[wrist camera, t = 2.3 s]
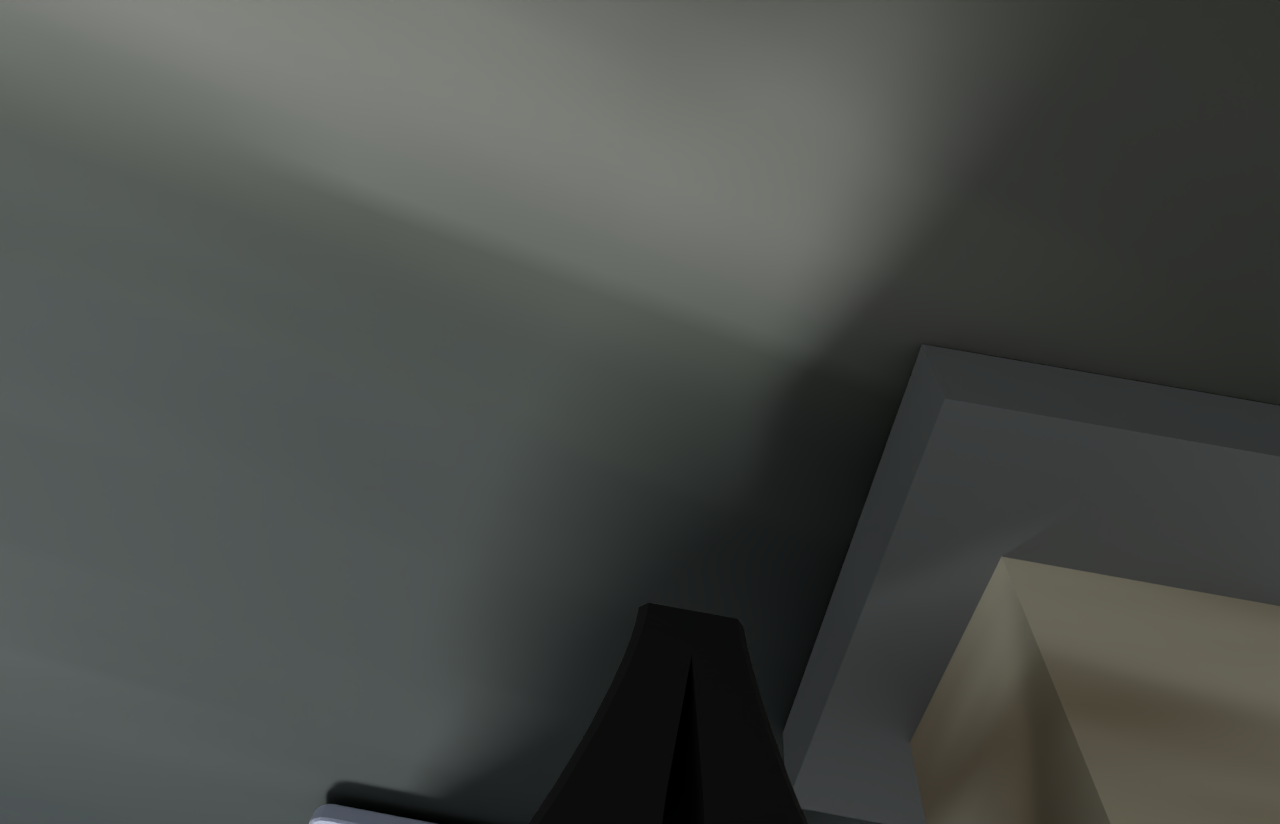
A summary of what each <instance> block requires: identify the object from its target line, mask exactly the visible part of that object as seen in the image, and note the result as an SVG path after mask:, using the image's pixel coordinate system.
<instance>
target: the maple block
mask: <svg viewBox="0 0 1280 824" xmlns="http://www.w3.org/2000/svg"><path fill="white" fill-rule="evenodd" d="M910 746H911V751H912V756H913V761H914V766H915V771H916V776H917V781H918V786H919V791H920V796H921V801H922V806H923V811H924V816H925V821H926V824H1280V606H1276V605H1270V604H1265V603H1259V602H1254V601H1248V600H1242V599H1237V598H1231V597H1226V596H1220V595H1214V594H1209V593H1203V592H1197V591H1192V590H1186V589H1181V588H1175V587H1169V586H1164V585H1158V584H1153V583H1147V582H1141V581H1136V580H1130V579H1125V578H1119V577H1113V576H1108V575H1102V574H1097V573H1091V572H1085V571H1080V570H1074V569H1068V568H1063V567H1057V566H1052V565H1046V564H1040V563H1035V562H1029V561H1024V560H1018V559H1012V558H1007V557H1001V559H1000V561H999V563H998V565H997V567H996V569H995V571H994V573H993V575H992V577H991V579H990V581H989V583H988V585H987V587H986V589H985V591H984V593H983V595H982V597H981V599H980V601H979V603H978V605H977V607H976V609H975V611H974V613H973V616H972V618H971V620H970V622H969V624H968V626H967V628H966V630H965V632H964V634H963V636H962V638H961V640H960V642H959V644H958V646H957V648H956V650H955V652H954V654H953V656H952V658H951V660H950V662H949V664H948V666H947V668H946V670H945V672H944V674H943V676H942V678H941V680H940V682H939V684H938V687H937V689H936V691H935V693H934V695H933V697H932V699H931V701H930V703H929V705H928V707H927V709H926V711H925V713H924V715H923V717H922V719H921V721H920V723H919V725H918V727H917V729H916V731H915V733H914V735H913V737H912V739H911V741H910Z"/></svg>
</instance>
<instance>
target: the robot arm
mask: <svg viewBox="0 0 1280 824" xmlns="http://www.w3.org/2000/svg"><path fill="white" fill-rule="evenodd" d="M309 824H437V823H432V822H426V821H421V820H416V819H411V818H405V817H400V816H395V815H389V814H384V813H379V812H374V811H368V810H363V809H358V808H353V807H347V806H342V805H337V804H325V805H321V806H319V807H318V808H317V809H316V810H315V812H314V814H313V816H312V818H311V820H310V822H309ZM529 824H808V823H807V821H806V818H805V816H804V814H803V811H802V809H801V807H800V804H799V802H798V799H797V797H796V794H795V792H794V789H793V787H792V784H791V782H790V779H789V777H788V774H787V771H786V769H785V766H784V763H783V760H782V758H781V755H780V752H779V749H778V747H777V744H776V741H775V738H774V736H773V733H772V730H771V727H770V724H769V721H768V718H767V715H766V712H765V709H764V706H763V703H762V699H761V696H760V693H759V689H758V686H757V683H756V679H755V676H754V672H753V668H752V665H751V661H750V657H749V652H748V648H747V644H746V639H745V634H744V628H743V626H742V625H741V623H740V622H739V621H738V620H737V619H734V618H729V617H723V616H718V615H712V614H707V613H701V612H696V611H690V610H685V609H679V608H674V607H668V606H663V605H657V604H652V603H647V604H645V605H643V606H641V607H639V611H638V615H637V620H636V624H635V627H634V630H633V634H632V637H631V640H630V642H629V645H628V648H627V650H626V653H625V655H624V658H623V660H622V662H621V664H620V667H619V669H618V671H617V673H616V676H615V678H614V680H613V682H612V684H611V686H610V688H609V690H608V692H607V694H606V696H605V698H604V700H603V702H602V704H601V706H600V707H599V709H598V711H597V713H596V715H595V717H594V719H593V721H592V723H591V725H590V727H589V728H588V730H587V732H586V734H585V736H584V737H583V739H582V741H581V742H580V744H579V746H578V747H577V749H576V751H575V752H574V754H573V756H572V757H571V759H570V760H569V762H568V764H567V765H566V767H565V769H564V770H563V772H562V774H561V775H560V777H559V779H558V780H557V782H556V784H555V785H554V787H553V788H552V790H551V791H550V793H549V794H548V796H547V797H546V799H545V800H544V802H543V804H542V805H541V807H540V808H539V810H538V811H537V813H536V814H535V815H534V817H533V818H532V820H531V821H530V823H529Z"/></svg>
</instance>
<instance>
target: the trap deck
mask: <svg viewBox="0 0 1280 824" xmlns="http://www.w3.org/2000/svg"><path fill="white" fill-rule="evenodd" d="M1001 557H1007V558H1012V559H1018V560H1024V561H1029V562H1035V563H1040V564H1046V565H1052V566H1057V567H1063V568H1068V569H1074V570H1080V571H1085V572H1091V573H1097V574H1102V575H1108V576H1113V577H1119V578H1125V579H1130V580H1136V581H1141V582H1147V583H1153V584H1158V585H1164V586H1169V587H1175V588H1181V589H1186V590H1192V591H1197V592H1203V593H1209V594H1214V595H1220V596H1226V597H1231V598H1237V599H1242V600H1248V601H1254V602H1259V603H1265V604H1270V605H1276V606H1280V406H1279V405H1273V404H1267V403H1261V402H1256V401H1250V400H1244V399H1238V398H1232V397H1227V396H1221V395H1215V394H1209V393H1203V392H1197V391H1192V390H1186V389H1180V388H1174V387H1168V386H1163V385H1157V384H1151V383H1145V382H1139V381H1133V380H1128V379H1122V378H1116V377H1110V376H1104V375H1099V374H1093V373H1087V372H1081V371H1075V370H1070V369H1064V368H1058V367H1052V366H1046V365H1040V364H1035V363H1029V362H1023V361H1017V360H1011V359H1006V358H1000V357H994V356H988V355H982V354H976V353H971V352H965V351H959V350H953V349H947V348H942V347H936V346H930V345H924V344H922V346H921V348H920V351H919V354H918V357H917V360H916V362H915V365H914V368H913V371H912V374H911V376H910V379H909V382H908V385H907V387H906V390H905V393H904V396H903V399H902V401H901V404H900V407H899V410H898V413H897V415H896V418H895V421H894V424H893V427H892V429H891V432H890V435H889V438H888V441H887V443H886V446H885V449H884V452H883V455H882V457H881V460H880V463H879V466H878V468H877V471H876V474H875V477H874V480H873V482H872V485H871V488H870V491H869V494H868V496H867V499H866V502H865V505H864V508H863V510H862V513H861V516H860V519H859V522H858V524H857V527H856V530H855V533H854V536H853V538H852V541H851V544H850V547H849V549H848V552H847V555H846V558H845V561H844V563H843V566H842V569H841V572H840V575H839V577H838V580H837V583H836V586H835V589H834V591H833V594H832V597H831V600H830V603H829V605H828V608H827V611H826V614H825V617H824V619H823V622H822V625H821V628H820V630H819V633H818V636H817V639H816V642H815V644H814V647H813V650H812V653H811V656H810V658H809V661H808V664H807V667H806V670H805V672H804V675H803V678H802V681H801V684H800V686H799V689H798V692H797V695H796V698H795V700H794V703H793V706H792V709H791V711H790V714H789V717H788V720H787V723H786V725H785V728H784V731H783V748H784V766H785V769H786V771H787V774H788V777H789V779H790V782H791V784H792V787H793V789H794V792H795V794H796V797H797V799H798V802H799V804H800V807H801V809H806V810H812V811H817V812H822V813H828V814H833V815H838V816H844V817H849V818H854V819H860V820H865V821H870V822H876V823H881V824H926V821H925V816H924V811H923V806H922V801H921V796H920V791H919V786H918V781H917V776H916V771H915V766H914V761H913V756H912V751H911V746H910V741H911V739H912V737H913V735H914V733H915V731H916V729H917V727H918V725H919V723H920V721H921V719H922V717H923V715H924V713H925V711H926V709H927V707H928V705H929V703H930V701H931V699H932V697H933V695H934V693H935V691H936V689H937V687H938V684H939V682H940V680H941V678H942V676H943V674H944V672H945V670H946V668H947V666H948V664H949V662H950V660H951V658H952V656H953V654H954V652H955V650H956V648H957V646H958V644H959V642H960V640H961V638H962V636H963V634H964V632H965V630H966V628H967V626H968V624H969V622H970V620H971V618H972V616H973V613H974V611H975V609H976V607H977V605H978V603H979V601H980V599H981V597H982V595H983V593H984V591H985V589H986V587H987V585H988V583H989V581H990V579H991V577H992V575H993V573H994V571H995V569H996V567H997V565H998V563H999V561H1000V559H1001Z"/></svg>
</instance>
